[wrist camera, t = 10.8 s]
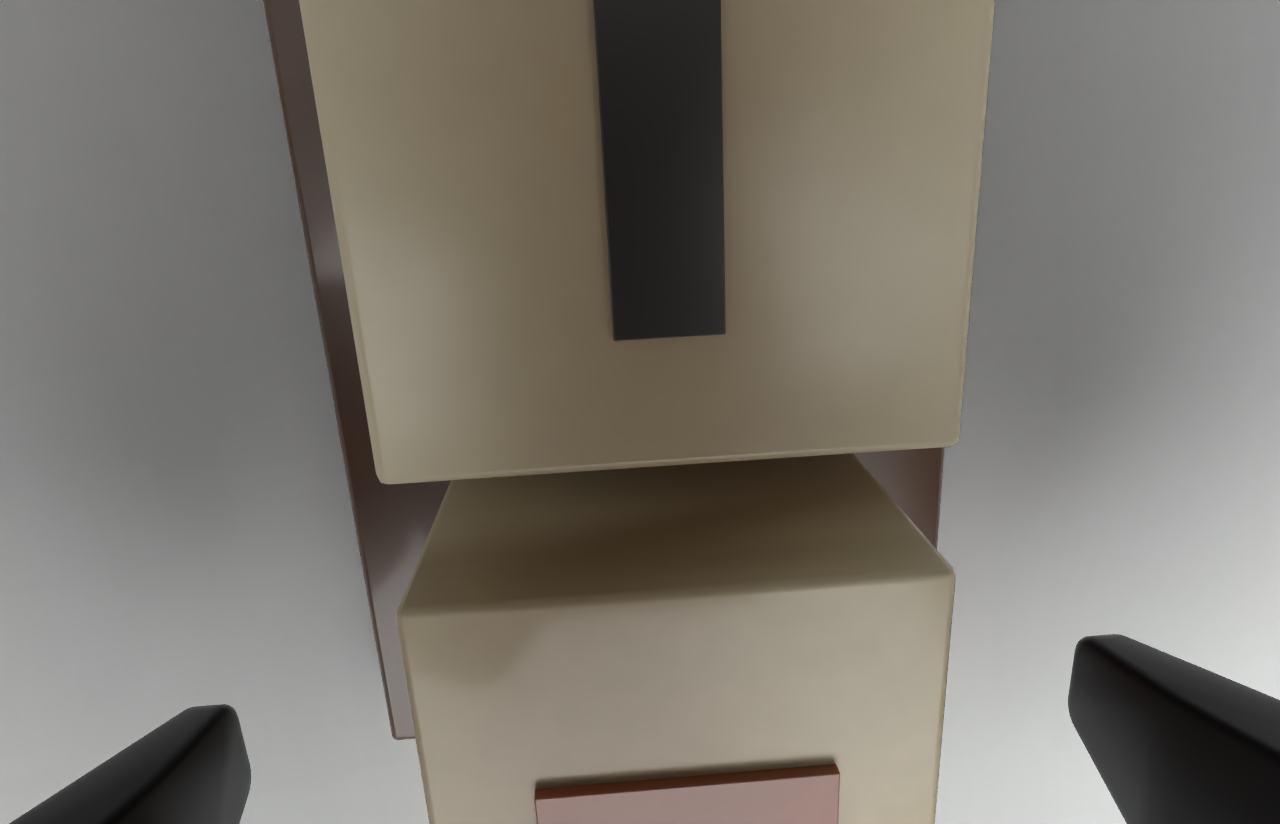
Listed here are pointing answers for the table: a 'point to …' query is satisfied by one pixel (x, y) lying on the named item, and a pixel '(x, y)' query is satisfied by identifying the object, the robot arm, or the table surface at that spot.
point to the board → (631, 241)
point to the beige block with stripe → (678, 648)
